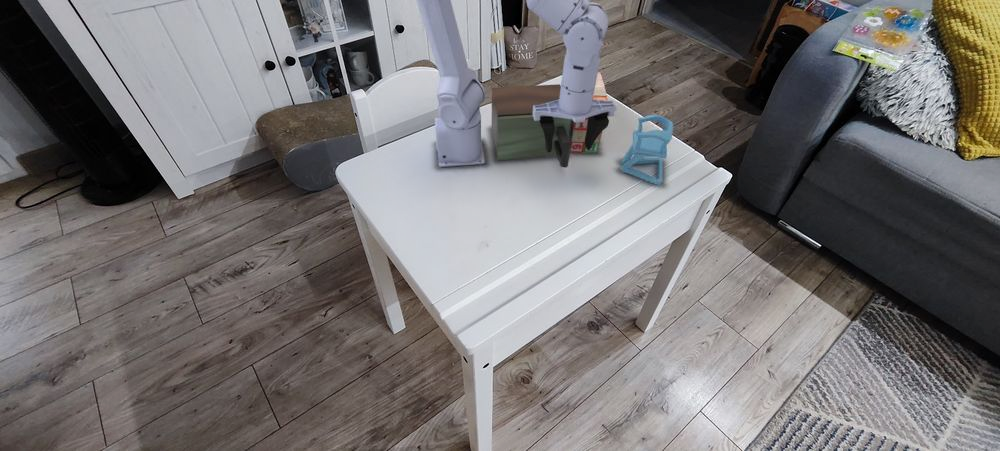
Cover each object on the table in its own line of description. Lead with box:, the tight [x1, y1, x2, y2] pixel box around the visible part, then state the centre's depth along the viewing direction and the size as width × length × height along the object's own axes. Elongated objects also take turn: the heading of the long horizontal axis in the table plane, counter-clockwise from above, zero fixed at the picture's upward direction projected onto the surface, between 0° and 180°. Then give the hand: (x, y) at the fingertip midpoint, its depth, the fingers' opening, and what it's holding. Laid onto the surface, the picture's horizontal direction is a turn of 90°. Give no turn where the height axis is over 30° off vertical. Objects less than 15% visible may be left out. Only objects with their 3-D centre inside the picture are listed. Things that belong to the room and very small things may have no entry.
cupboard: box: [491, 83, 561, 157], centre depth 97 cm, size 10×15×11 cm
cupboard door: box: [496, 115, 571, 169], centre depth 91 cm, size 8×15×10 cm, turn 97°
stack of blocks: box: [568, 71, 609, 154], centre depth 101 cm, size 21×6×12 cm, turn 179°
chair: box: [620, 114, 674, 186], centre depth 90 cm, size 8×8×12 cm
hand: (567, 147), depth 87 cm, fingers open, 7 cm apart
